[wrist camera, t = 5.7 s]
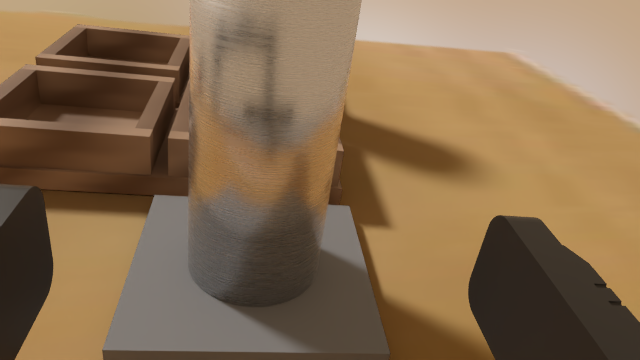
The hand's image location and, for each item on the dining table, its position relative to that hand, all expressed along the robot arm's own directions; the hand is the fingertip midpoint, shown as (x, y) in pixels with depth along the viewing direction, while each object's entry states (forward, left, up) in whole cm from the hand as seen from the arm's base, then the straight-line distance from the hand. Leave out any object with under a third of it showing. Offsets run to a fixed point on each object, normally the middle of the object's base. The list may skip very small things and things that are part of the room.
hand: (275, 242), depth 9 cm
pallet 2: (+5, +18, -8) cm, 20 cm away
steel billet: (+4, +7, -7) cm, 11 cm away
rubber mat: (+4, +7, -8) cm, 12 cm away
